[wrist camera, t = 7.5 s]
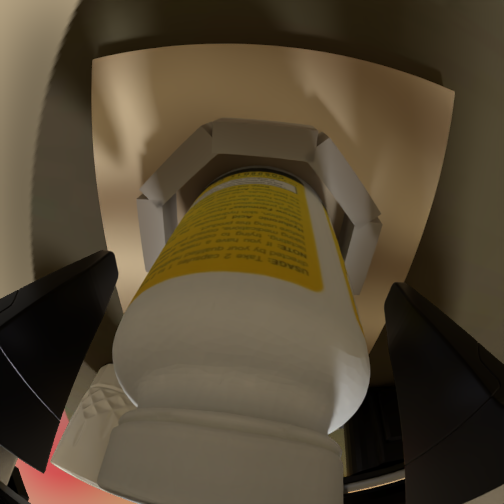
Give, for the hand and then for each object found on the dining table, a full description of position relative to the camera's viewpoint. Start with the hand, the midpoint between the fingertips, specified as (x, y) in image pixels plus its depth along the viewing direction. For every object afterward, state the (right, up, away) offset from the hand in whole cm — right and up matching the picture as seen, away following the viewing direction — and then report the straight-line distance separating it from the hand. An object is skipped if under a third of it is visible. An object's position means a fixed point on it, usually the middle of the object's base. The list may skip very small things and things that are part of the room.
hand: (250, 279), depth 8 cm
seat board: (0, +2, +3) cm, 4 cm away
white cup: (-10, -10, +12) cm, 19 cm away
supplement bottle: (0, +2, +3) cm, 3 cm away
